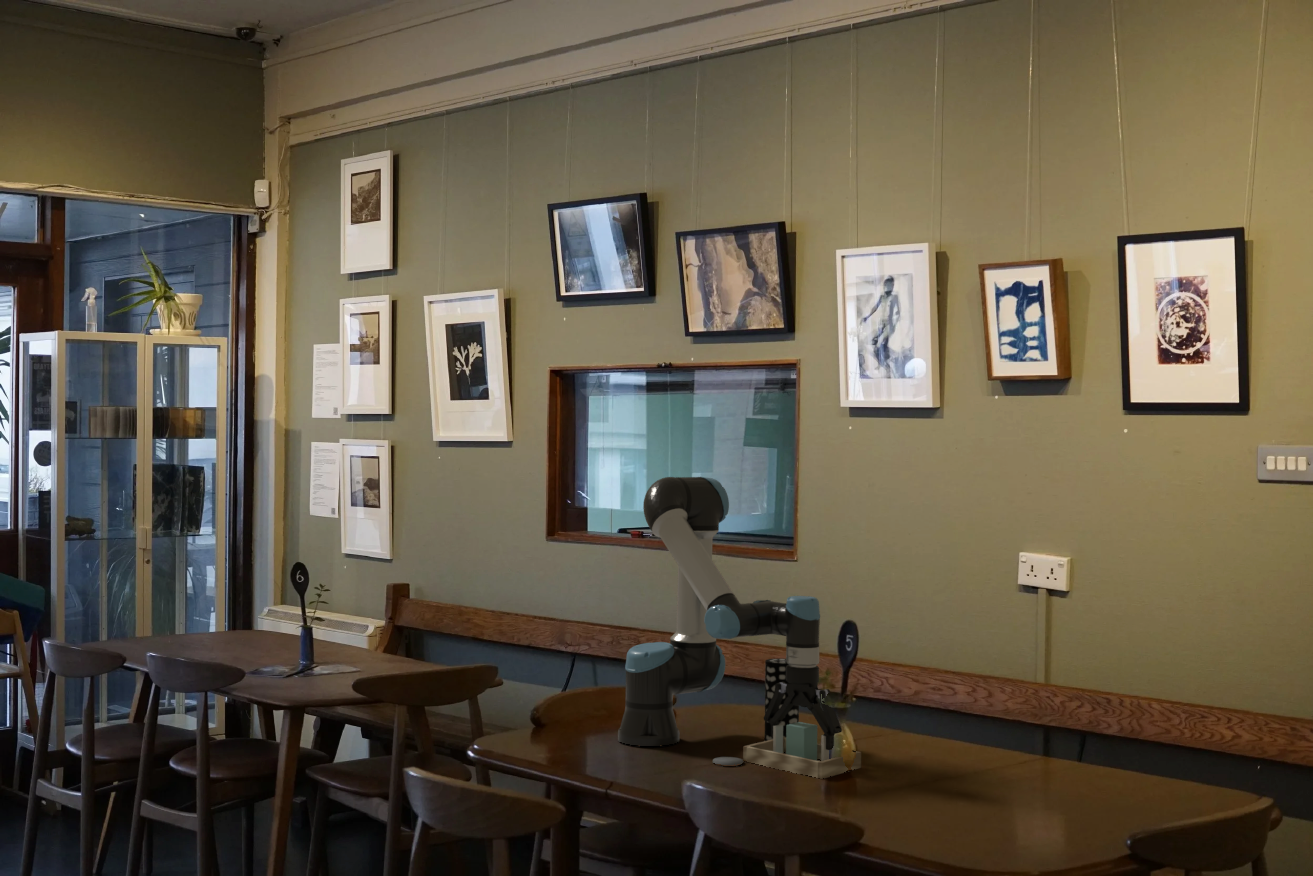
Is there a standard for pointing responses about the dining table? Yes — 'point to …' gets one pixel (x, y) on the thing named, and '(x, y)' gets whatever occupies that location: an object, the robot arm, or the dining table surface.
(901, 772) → the dining table surface
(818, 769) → the tray
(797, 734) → the block
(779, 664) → the white-spotted black cylinder
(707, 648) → the robot arm
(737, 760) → the coaster
